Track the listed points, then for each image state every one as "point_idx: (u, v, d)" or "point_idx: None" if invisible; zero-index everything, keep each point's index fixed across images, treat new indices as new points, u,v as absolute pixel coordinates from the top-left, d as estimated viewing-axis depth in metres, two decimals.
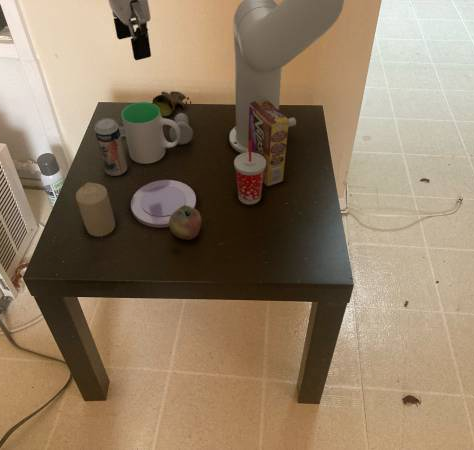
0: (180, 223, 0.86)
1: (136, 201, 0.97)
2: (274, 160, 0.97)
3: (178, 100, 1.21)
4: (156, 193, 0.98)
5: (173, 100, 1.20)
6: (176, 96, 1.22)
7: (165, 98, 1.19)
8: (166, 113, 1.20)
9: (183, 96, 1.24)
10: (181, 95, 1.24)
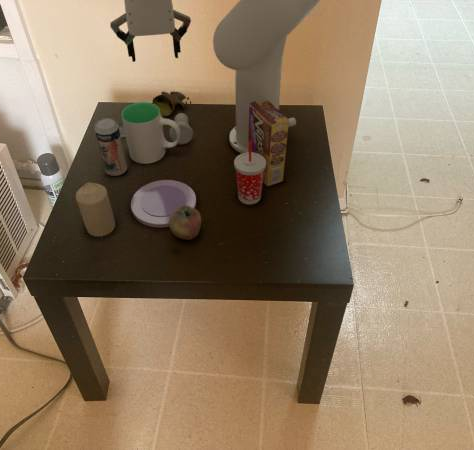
0: (180, 223, 0.86)
1: (136, 201, 0.97)
2: (274, 160, 0.97)
3: (178, 100, 1.21)
4: (156, 193, 0.98)
5: (173, 100, 1.20)
6: (176, 96, 1.22)
7: (165, 98, 1.19)
8: (166, 113, 1.20)
9: (183, 96, 1.24)
10: (181, 95, 1.24)
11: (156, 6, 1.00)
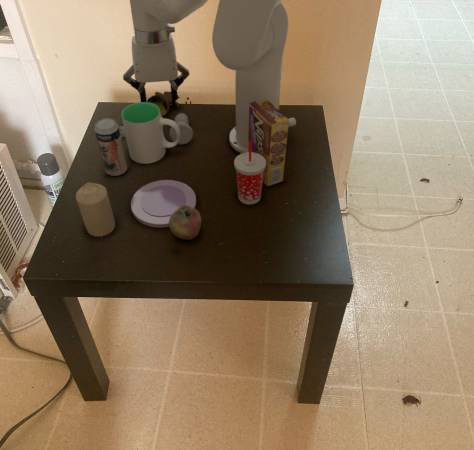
0: (180, 223, 0.86)
1: (136, 201, 0.97)
2: (274, 160, 0.97)
3: None
4: (156, 193, 0.98)
5: (167, 100, 1.21)
6: (170, 96, 1.23)
7: (159, 98, 1.19)
8: (161, 113, 1.20)
9: None
10: None
11: (161, 58, 1.10)
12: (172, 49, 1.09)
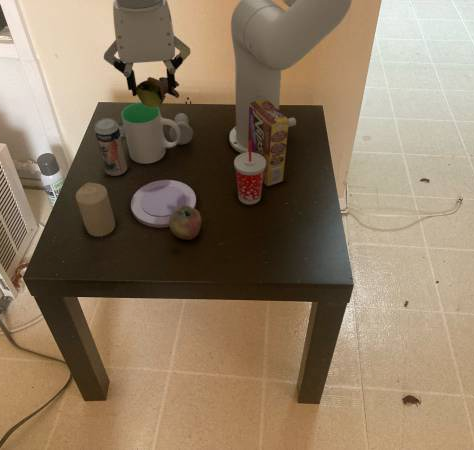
0: (180, 223, 0.86)
1: (136, 201, 0.97)
2: (274, 160, 0.97)
3: None
4: (156, 193, 0.98)
5: (163, 88, 0.93)
6: (167, 83, 0.95)
7: (152, 85, 0.92)
8: (154, 104, 0.93)
9: (176, 83, 0.97)
10: None
11: (151, 28, 0.82)
12: (166, 17, 0.82)
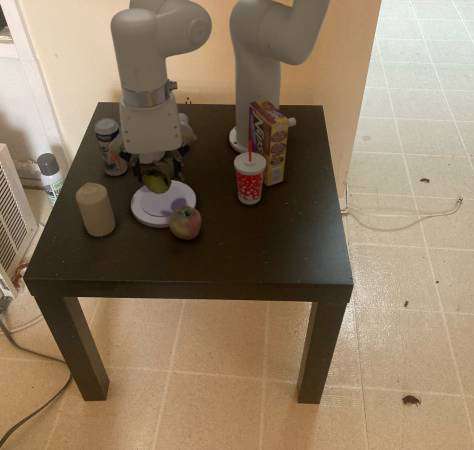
0: (180, 223, 0.86)
1: (136, 201, 0.97)
2: (274, 160, 0.97)
3: None
4: None
5: (168, 172, 0.92)
6: (172, 165, 0.94)
7: (158, 171, 0.91)
8: (160, 190, 0.92)
9: None
10: None
11: (159, 123, 0.81)
12: (174, 112, 0.81)
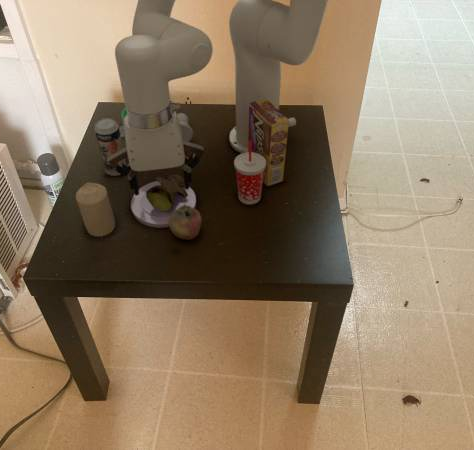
0: (180, 223, 0.86)
1: (136, 201, 0.97)
2: (274, 160, 0.97)
3: (178, 188, 0.96)
4: None
5: (172, 189, 0.95)
6: (175, 182, 0.97)
7: (162, 188, 0.94)
8: (164, 206, 0.95)
9: (183, 181, 0.99)
10: (181, 180, 0.99)
11: (162, 142, 0.84)
12: (177, 131, 0.84)
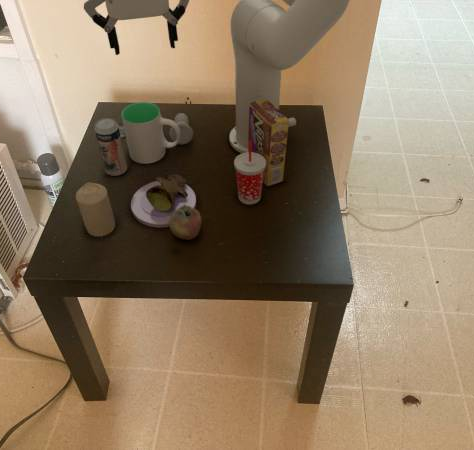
0: (180, 223, 0.86)
1: (136, 201, 0.97)
2: (274, 160, 0.97)
3: (178, 188, 0.96)
4: None
5: (172, 189, 0.95)
6: (175, 182, 0.97)
7: (162, 188, 0.94)
8: (164, 206, 0.95)
9: (183, 181, 0.99)
10: (181, 180, 0.99)
11: None
12: None
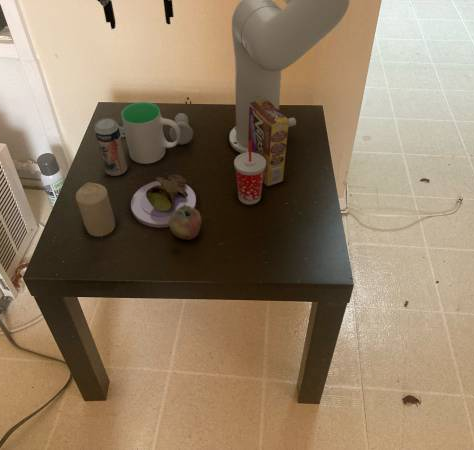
0: (180, 223, 0.86)
1: (136, 201, 0.97)
2: (274, 160, 0.97)
3: (178, 188, 0.96)
4: None
5: (172, 189, 0.95)
6: (175, 182, 0.97)
7: (162, 188, 0.94)
8: (164, 206, 0.95)
9: (183, 181, 0.99)
10: (181, 180, 0.99)
11: None
12: None
